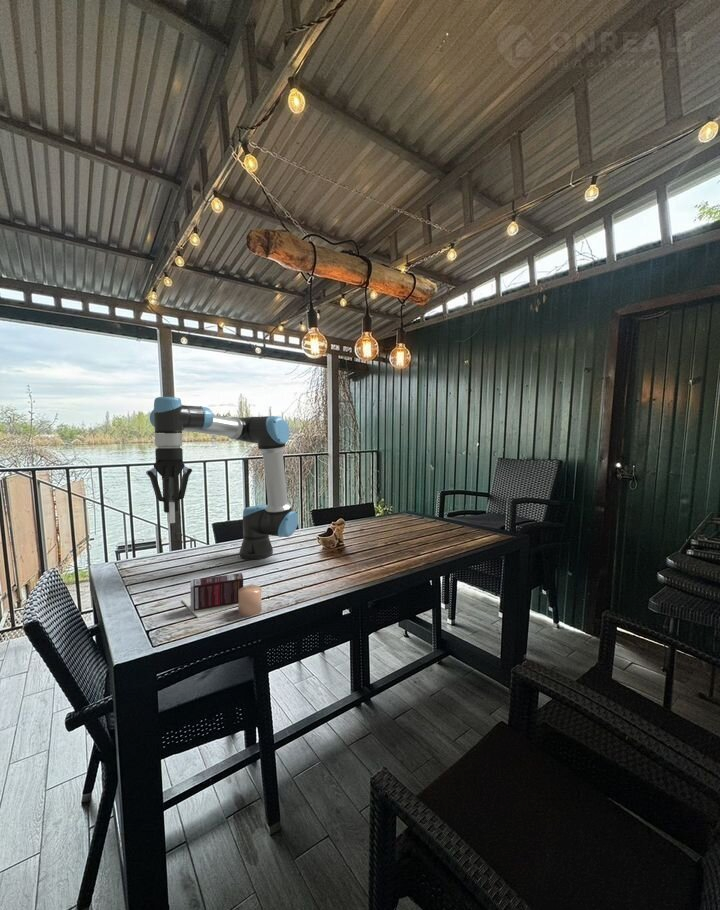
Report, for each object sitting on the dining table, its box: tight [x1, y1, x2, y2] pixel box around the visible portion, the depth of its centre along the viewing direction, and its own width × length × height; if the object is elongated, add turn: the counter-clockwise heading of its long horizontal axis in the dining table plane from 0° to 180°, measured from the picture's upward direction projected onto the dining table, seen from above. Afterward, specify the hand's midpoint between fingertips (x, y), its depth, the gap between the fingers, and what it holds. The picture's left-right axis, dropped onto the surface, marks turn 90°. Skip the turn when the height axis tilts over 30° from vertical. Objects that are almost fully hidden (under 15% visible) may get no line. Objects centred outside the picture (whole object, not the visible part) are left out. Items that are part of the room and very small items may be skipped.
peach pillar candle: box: [237, 584, 262, 617], centre depth 117 cm, size 7×7×7 cm
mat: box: [181, 596, 238, 619], centre depth 124 cm, size 17×16×1 cm
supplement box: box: [190, 572, 244, 612], centre depth 120 cm, size 9×5×16 cm
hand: (171, 522), depth 116 cm, fingers closed
